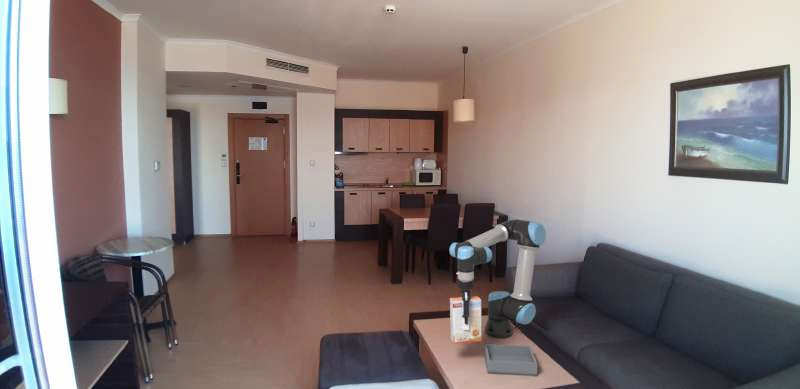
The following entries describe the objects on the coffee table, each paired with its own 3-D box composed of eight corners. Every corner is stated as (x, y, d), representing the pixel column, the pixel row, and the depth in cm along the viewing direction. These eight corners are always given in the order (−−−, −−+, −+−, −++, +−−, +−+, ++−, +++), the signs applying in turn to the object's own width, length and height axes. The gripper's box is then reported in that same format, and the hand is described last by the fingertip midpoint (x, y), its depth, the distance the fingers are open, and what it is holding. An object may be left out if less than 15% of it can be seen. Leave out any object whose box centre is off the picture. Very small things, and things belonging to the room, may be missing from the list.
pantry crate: (484, 355, 220) (484, 344, 219) (529, 357, 218) (530, 345, 217) (487, 373, 202) (487, 361, 202) (536, 376, 200) (537, 363, 199)
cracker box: (477, 336, 215) (477, 295, 213) (481, 342, 209) (481, 299, 207) (449, 338, 213) (449, 297, 211) (453, 344, 208) (452, 301, 205)
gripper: (457, 273, 218) (457, 318, 221) (458, 285, 199) (458, 334, 201) (472, 273, 218) (472, 318, 220) (474, 286, 198) (474, 335, 201)
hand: (465, 326), depth 211 cm, fingers closed on cracker box, 7 cm apart
